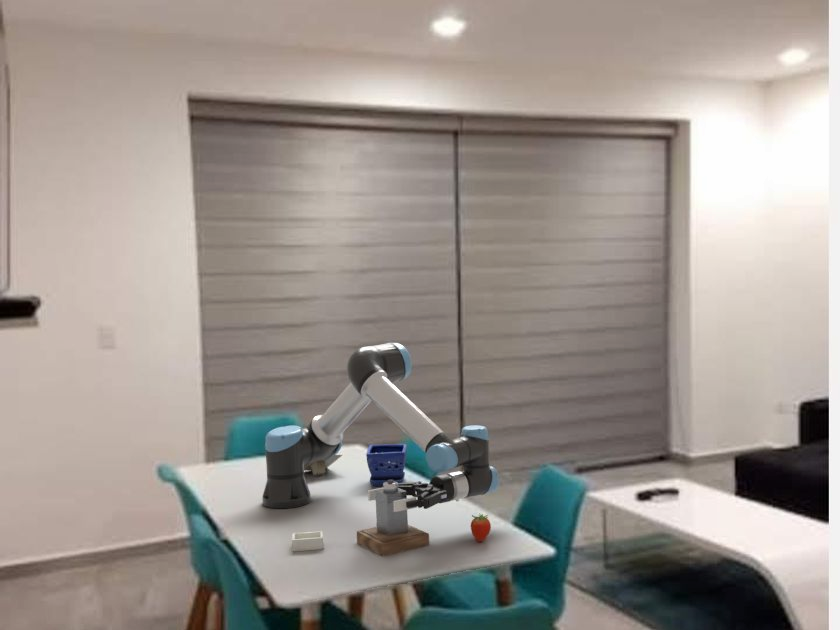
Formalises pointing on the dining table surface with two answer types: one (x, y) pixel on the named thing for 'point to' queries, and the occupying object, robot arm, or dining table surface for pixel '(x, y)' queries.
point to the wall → (320, 465)
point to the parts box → (307, 541)
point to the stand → (392, 540)
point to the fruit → (480, 527)
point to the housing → (390, 510)
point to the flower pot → (386, 463)
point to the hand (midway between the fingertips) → (381, 500)
